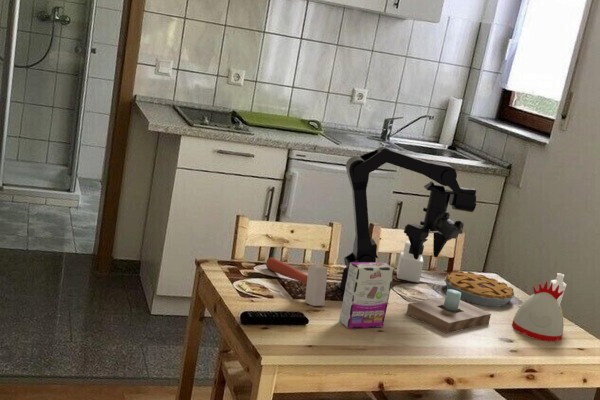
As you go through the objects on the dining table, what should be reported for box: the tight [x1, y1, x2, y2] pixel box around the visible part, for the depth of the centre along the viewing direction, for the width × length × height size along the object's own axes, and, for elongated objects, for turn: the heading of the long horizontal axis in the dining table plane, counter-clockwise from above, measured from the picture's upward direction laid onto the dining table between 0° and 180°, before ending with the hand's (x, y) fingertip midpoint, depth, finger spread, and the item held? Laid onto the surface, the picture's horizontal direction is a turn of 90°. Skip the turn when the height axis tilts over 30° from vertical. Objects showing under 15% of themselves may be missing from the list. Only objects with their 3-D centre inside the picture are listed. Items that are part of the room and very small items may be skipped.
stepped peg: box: [443, 289, 461, 314], centre depth 213 cm, size 4×4×8 cm
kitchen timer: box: [511, 280, 565, 342], centre depth 215 cm, size 14×14×15 cm
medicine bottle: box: [396, 240, 425, 284], centre depth 244 cm, size 7×7×12 cm
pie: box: [444, 270, 516, 308], centre depth 240 cm, size 22×22×5 cm
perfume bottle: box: [549, 272, 567, 305], centre depth 226 cm, size 5×4×15 cm
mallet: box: [265, 256, 328, 307], centre depth 217 cm, size 11×4×30 cm
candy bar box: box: [338, 261, 395, 330], centre depth 196 cm, size 11×5×16 cm, turn 117°
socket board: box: [406, 296, 492, 334], centre depth 214 cm, size 20×14×3 cm
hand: (425, 258), depth 223 cm, fingers open, 9 cm apart
